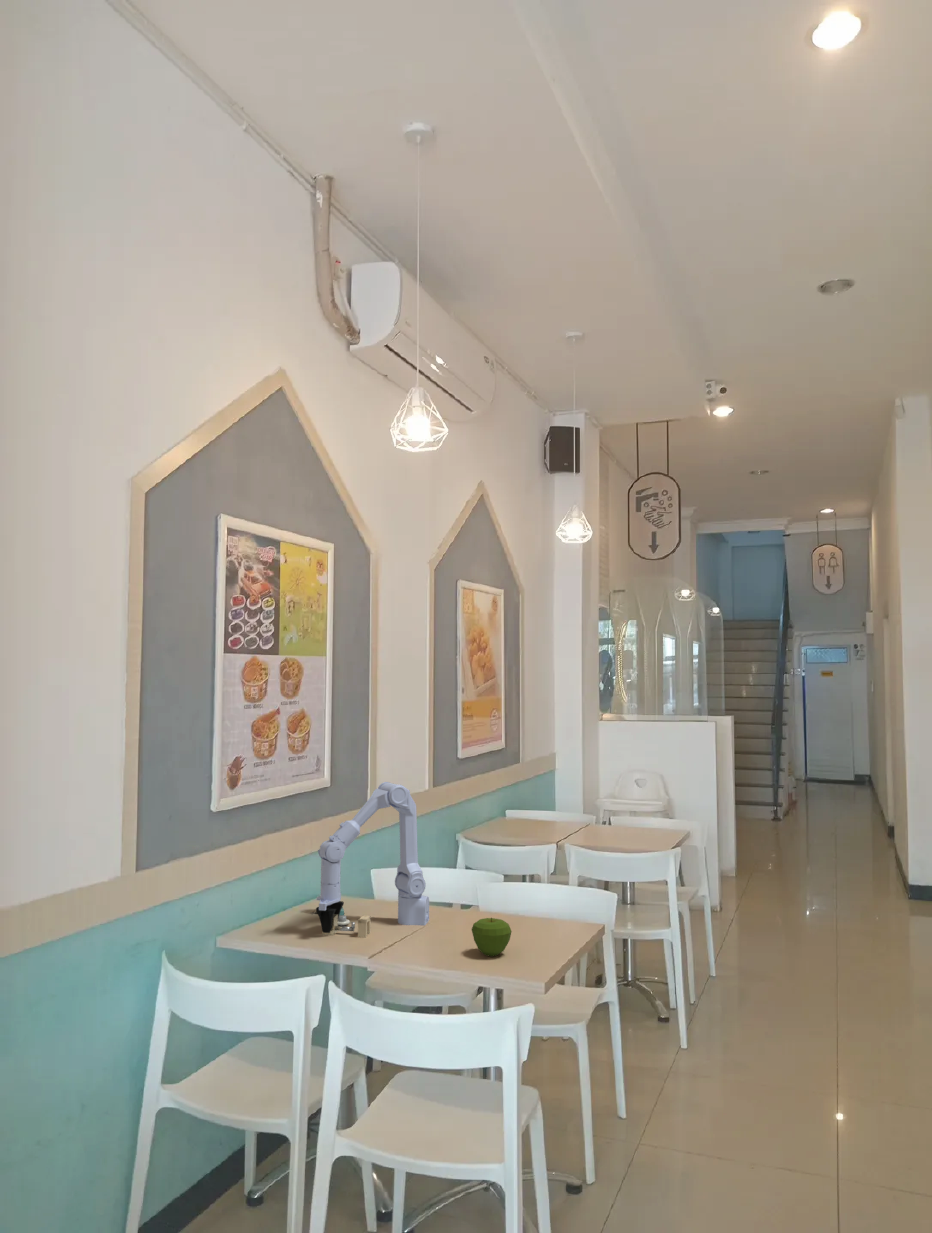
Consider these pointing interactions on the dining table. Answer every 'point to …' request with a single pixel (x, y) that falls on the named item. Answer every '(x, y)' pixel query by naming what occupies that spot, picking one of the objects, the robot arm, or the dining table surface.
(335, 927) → the beige rectangular block
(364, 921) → the grey dial panel
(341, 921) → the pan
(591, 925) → the dining table surface
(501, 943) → the apple
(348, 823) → the robot arm
